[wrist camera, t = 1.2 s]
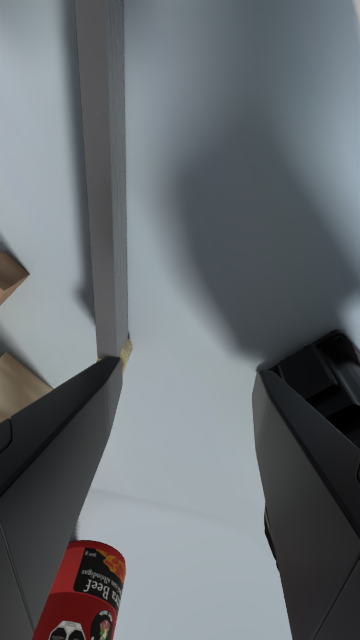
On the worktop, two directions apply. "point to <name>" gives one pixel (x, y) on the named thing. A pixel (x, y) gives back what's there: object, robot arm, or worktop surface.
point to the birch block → (17, 387)
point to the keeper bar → (105, 166)
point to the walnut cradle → (10, 276)
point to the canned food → (84, 594)
